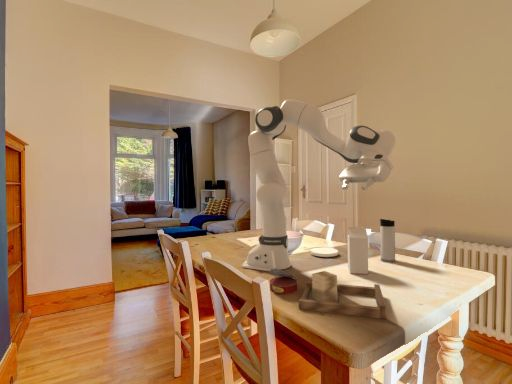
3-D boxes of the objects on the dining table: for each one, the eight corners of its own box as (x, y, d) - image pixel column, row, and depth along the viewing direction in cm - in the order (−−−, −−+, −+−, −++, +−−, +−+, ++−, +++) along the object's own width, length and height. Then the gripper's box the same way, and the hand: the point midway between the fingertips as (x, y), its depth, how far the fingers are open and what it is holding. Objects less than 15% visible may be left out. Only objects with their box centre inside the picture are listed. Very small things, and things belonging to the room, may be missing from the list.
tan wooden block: (324, 304, 85) (323, 278, 85) (312, 298, 90) (312, 273, 90) (337, 300, 88) (336, 275, 88) (325, 294, 93) (324, 270, 93)
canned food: (269, 301, 101) (262, 273, 105) (294, 293, 104) (285, 267, 108) (279, 297, 91) (270, 267, 95) (306, 289, 95) (296, 260, 98)
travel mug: (377, 259, 134) (376, 218, 133) (388, 258, 135) (388, 217, 135) (386, 263, 128) (385, 220, 127) (398, 261, 129) (397, 219, 129)
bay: (298, 308, 83) (298, 297, 83) (306, 288, 99) (306, 278, 99) (386, 319, 76) (385, 306, 76) (379, 295, 92) (379, 284, 92)
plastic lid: (343, 257, 140) (343, 252, 140) (317, 259, 138) (317, 254, 137) (330, 251, 154) (330, 246, 154) (307, 253, 151) (306, 248, 151)
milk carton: (368, 274, 113) (367, 228, 112) (350, 273, 114) (349, 228, 114) (365, 269, 120) (364, 225, 119) (347, 268, 121) (347, 225, 121)
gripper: (345, 160, 117) (329, 183, 113) (389, 154, 99) (371, 182, 95) (353, 170, 119) (337, 194, 115) (397, 167, 101) (380, 194, 97)
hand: (353, 188), depth 105 cm, fingers open, 8 cm apart
